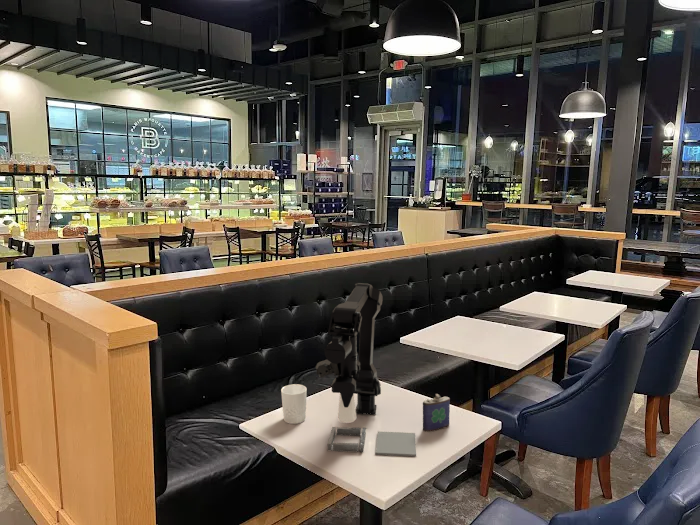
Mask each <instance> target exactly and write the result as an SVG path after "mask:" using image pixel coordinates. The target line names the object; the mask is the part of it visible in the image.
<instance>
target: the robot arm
mask: <svg viewBox="0 0 700 525" xmlns="http://www.w3.org/2000/svg"><path fill="white" fill-rule="evenodd" d="M383 297H384V296H383V294H382V292H381V290H380V289H378V288H376V287H373V285H372V284H370V283H361V282H357V283H355V284H354V286H353V290H352V291H351V293H350V295H349V296H348V298H346V300H345V302H342V303H339V304H338V305H336V306H335V307H334V309H333V310H332V311H331V314H330V321H329V326H328V331H327V335H330V336H331V335H332V338H331V341H330V342H329V343H328V344H327V345H326V346H325V349H324V356H325V358H326V359H325V360H322V361H319V362H317V363H316V365H315V371H316V372H315V374H316V375H318V377H319V378H320V379H323V378H324V377H326V376H329V375H334V376H336V377H335V378H334V379H333V380H332V383H331V393H338V394H339V395H340V394H341V397H342V401H343V404H344V407H348V406H349V404H350V401H351V399H352V396H353V394H354V395H355V394H357V397H356V398H357V399H356V400H357V401H356V406H355V409H356V415H373V416H374V415H376V414H377V408H378V407H377V406H378V405H377V404H376V397H378V396H379V395H381V393H382V389H381V381H380V380H379V377H378V371H377V369H376V366H375V365H374V364H373V363H374V362H373V358H374V340H375V325H376V324H375V319H376V317H377V315H378V314H379V313H380V311H381V307H382V305H383ZM358 333H359V345H358V346H359V347H357V342H358V341H357V340H358V339H357V335H358ZM357 349H359V350H358V351H357Z"/></svg>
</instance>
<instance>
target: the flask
mask: <svg viewBox="0 0 700 525" xmlns="http://www.w3.org/2000/svg"><path fill="white" fill-rule="evenodd" d="M450 400H451V398H450V397H448V396H443V397H441V395H440V394H438V393H435V397H433V398H432V399H431V398H430V399H428V398H427V399H425V400H424V401H423V402H422V431H423V432H426V433H429V432H434V431H436V432H437V431H439V430H442V429H446V428H448V427H449V426H450V407H451V406H450V405H451V404H450V403H451V402H450Z"/></svg>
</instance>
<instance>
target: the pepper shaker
mask: <svg viewBox="0 0 700 525" xmlns="http://www.w3.org/2000/svg"><path fill="white" fill-rule="evenodd" d="M338 400H339V402H338V412H337V419H338V421H339V422H340V423H344V424H349V423H354V422H355V421H356V420H357V418H358V417H357V414H356V404H355V403H356V402H355V394H353V396H352V399H351V401H350V404H349V406H348V407H344V404H343V401H342V397H341V394H340V393H339V399H338Z"/></svg>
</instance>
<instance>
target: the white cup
mask: <svg viewBox="0 0 700 525" xmlns="http://www.w3.org/2000/svg"><path fill="white" fill-rule="evenodd" d="M280 391H281V392H280V394H281V403H282V404H281V406H282V411H283V413H282V414H283V420H284V422H285V423H287V424H291V425H294V424H296V425H297V424H298V425H299V424H301V423H303V422H304V421H305V420H306V417H307V416H306V413H307V412H306V411H307V394H308V393H307V387H306V386H305V385H303V384H297V383H294V384H288V385H285V386H282V388H281V389H280Z"/></svg>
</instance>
